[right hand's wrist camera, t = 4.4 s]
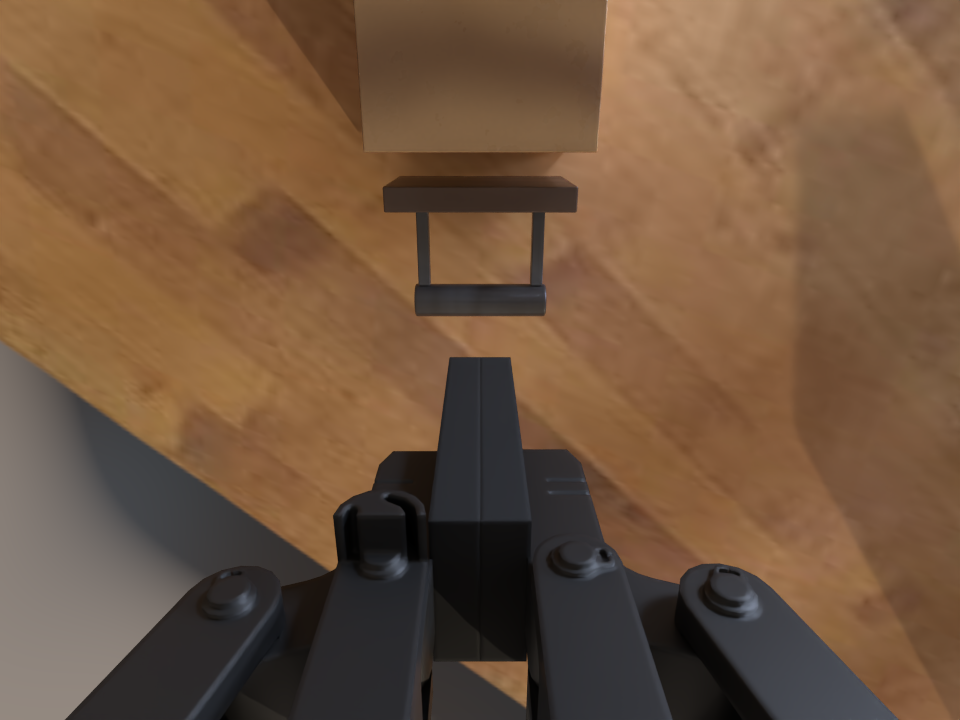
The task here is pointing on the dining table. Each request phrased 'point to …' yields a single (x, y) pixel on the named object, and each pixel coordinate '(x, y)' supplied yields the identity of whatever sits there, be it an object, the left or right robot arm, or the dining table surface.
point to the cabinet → (480, 74)
